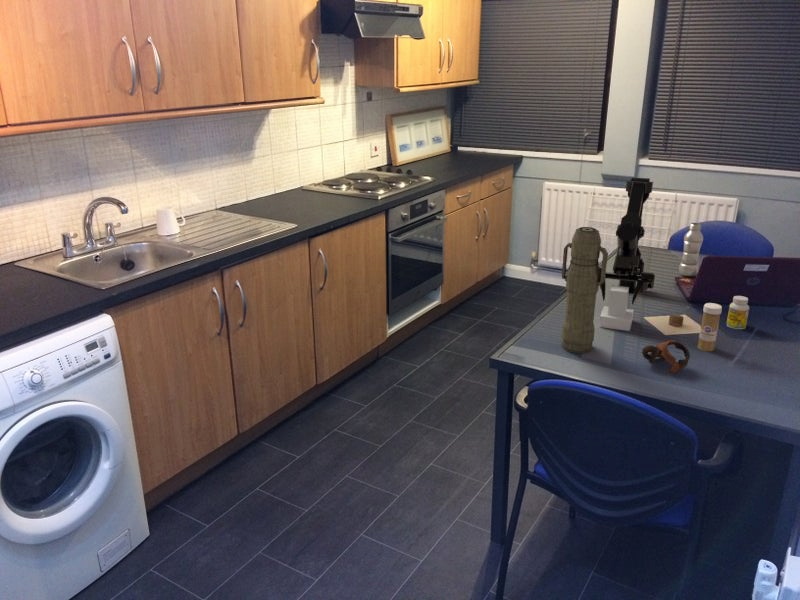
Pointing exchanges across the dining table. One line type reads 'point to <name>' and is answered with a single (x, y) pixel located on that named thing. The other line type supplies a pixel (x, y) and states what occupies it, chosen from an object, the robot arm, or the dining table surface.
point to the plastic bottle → (691, 250)
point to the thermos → (582, 288)
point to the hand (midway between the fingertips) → (617, 302)
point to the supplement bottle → (738, 313)
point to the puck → (676, 320)
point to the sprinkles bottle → (709, 326)
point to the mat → (666, 329)
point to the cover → (617, 310)
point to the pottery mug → (667, 354)
